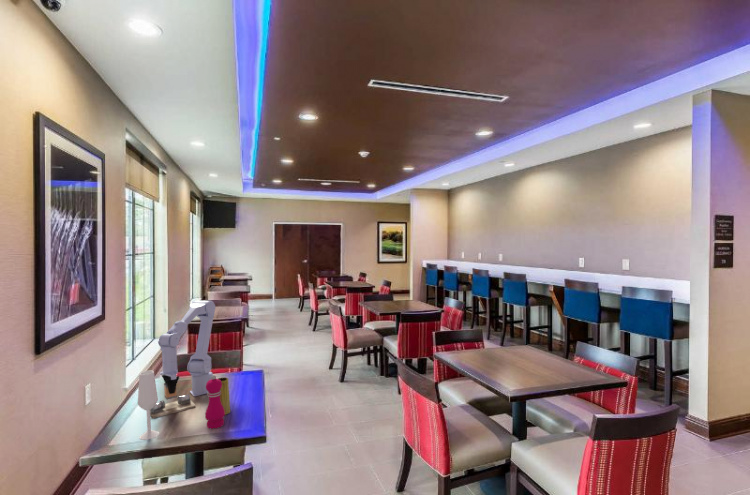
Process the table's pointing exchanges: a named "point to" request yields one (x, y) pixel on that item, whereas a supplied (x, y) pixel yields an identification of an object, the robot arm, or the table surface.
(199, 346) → the robot arm
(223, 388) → the vase
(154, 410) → the shaft
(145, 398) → the champagne flute
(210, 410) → the pepper mill
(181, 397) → the shaft
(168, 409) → the plate
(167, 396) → the orange rectangular block
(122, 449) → the table surface
